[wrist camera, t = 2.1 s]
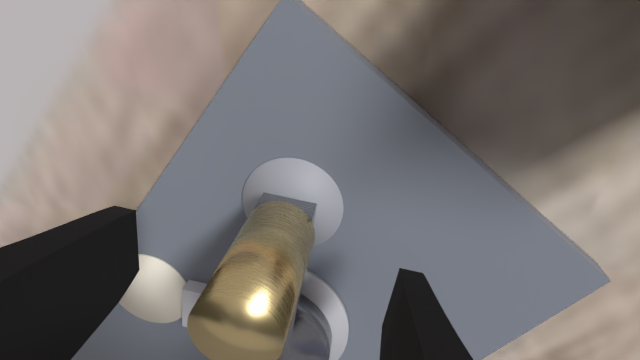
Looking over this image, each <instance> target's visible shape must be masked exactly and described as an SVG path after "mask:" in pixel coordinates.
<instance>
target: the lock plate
mask: <svg viewBox="0 0 640 360" xmlns="http://www.w3.org/2000/svg"><path fill="white" fill-rule="evenodd" d="M263 192H265V193H269V194H274V195H279V196H283V197H288V198H293V199H298V200H302V201H307V202H312V203H316V204H317V207H316V213H315V218H314V224H313V226H314V229H315V241H314V245H313V248H312V252H311V255H310V258H309V262H308V265H307V269H306V272H305V276H304V282H303V288H302V293H301V294H302V295H304V296H305V297H307V298H308V299H310V300H311V301H312V302H313V303H315V304H316V305H317V306H318V308H319V309H320V310H321V311H322V312H323V314H324V315H325V317H326V318H327V320H328V322H329V325H330V327H331V332H332V344H331V350H330V357H329V360H380V345H381V333H382V324H383V321H384V317H385V314H386V311H387V308H388V304H389V301H390V298H391V294H392V291H393V288H394V285H395V281H396V278H397V275H398V271H399V268H402V269H407V270H412V271H416V272H421V273H423V274H424V275H425V277H426V279H427V280H428V282H429V284H430V286H431V288H432V290H433V292H434V294H435V296H436V297H437V299H438V301H439V303H440V305H441V307H442V308H443V310H444V312H445V314H446V316H447V317H448V319H449V321H450V323H451V324H452V326H453V328H454V329H455V331H456V333H457V334H458V336H459V338H460V339H461V341H462V342H463V344H464V346H465V347H466V349H467V350H468V352H469V354H470V355H471V357H472V358H473V360H481V359H483V358H485V357H486V356H488V355H490V354H491V353H493V352H495V351H496V350H498V349H500V348H501V347H503V346H505V345H506V344H508V343H510V342H511V341H513V340H514V339H516V338H518V337H519V336H521V335H523V334H524V333H526V332H528V331H529V330H531V329H533V328H534V327H536V326H538V325H539V324H541V323H543V322H544V321H546V320H548V319H549V318H551V317H552V316H554V315H556V314H557V313H559V312H561V311H562V310H564V309H566V308H567V307H569V306H571V305H572V304H574V303H576V302H577V301H579V300H581V299H582V298H584V297H586V296H587V295H589V294H590V293H592V292H594V291H595V290H597V289H599V288H600V287H602V286H604V285H605V284H607V283H609V282H610V279H609V278H608V277H607V276H606V274H605V273H604V272H603V270H602V269H601V268H600V266H599V265H598V264H597V263H596V262H595V261H594V260H593V259H592V258H591V257H590V256H589V255H587V254H586V253H585V252H584V251H583V250H582V249H581V248H579V247H578V246H577V245H576V244H575V243H574V242H573V241H572V240H570V239H569V238H568V237H567V236H566V235H565V234H564V233H563V232H561V231H560V230H559V229H558V228H557V227H556V226H555V225H554V224H552V223H551V222H550V221H549V220H548V219H547V218H546V217H544V216H543V215H542V214H541V213H540V212H539V211H538V210H537V209H535V208H534V207H533V206H532V205H531V204H530V203H529V202H528V201H526V200H525V199H524V198H523V197H522V196H521V195H520V194H519V193H517V192H516V191H515V190H514V189H513V188H512V187H511V186H509V185H508V184H507V183H506V182H505V181H504V180H503V179H502V178H500V177H499V176H498V175H497V174H496V173H495V172H494V171H493V170H491V169H490V168H489V167H488V166H487V165H486V164H485V163H484V162H482V161H481V160H480V159H479V158H478V157H477V156H476V155H474V154H473V153H472V152H471V151H470V150H469V149H468V148H467V147H465V146H464V145H463V144H462V143H461V142H460V141H459V140H458V139H456V138H455V137H454V136H453V135H452V134H451V133H450V132H449V131H447V130H446V129H445V128H444V127H443V126H442V125H441V124H439V123H438V122H437V121H436V120H435V119H434V118H433V117H432V116H430V115H429V114H428V113H427V112H426V111H425V110H424V109H423V108H421V107H420V106H419V105H418V104H417V103H416V102H415V101H414V100H412V99H411V98H410V97H409V96H408V95H407V94H406V93H404V92H403V91H402V90H401V89H400V88H399V87H398V86H397V85H395V84H394V83H393V82H392V81H391V80H390V79H389V78H388V77H386V76H385V75H384V74H383V73H382V72H381V71H380V70H379V69H377V68H376V67H375V66H374V65H373V64H372V63H371V62H369V61H368V60H367V59H366V58H365V57H364V56H363V55H362V54H360V53H359V52H358V51H357V50H356V49H355V48H354V47H353V46H351V45H350V44H349V43H348V42H347V41H346V40H345V39H344V38H342V37H341V36H340V35H339V34H338V33H337V32H336V31H335V30H333V29H332V28H331V27H330V26H329V25H328V24H327V23H325V22H324V21H323V20H322V19H321V18H320V17H319V16H318V15H316V14H315V13H314V12H313V11H312V10H311V9H310V8H309V7H307V6H306V5H305V4H304V3H303V2H302V1H301V0H280V1H279V3H278V4H277V6H276V7H275V9H274V10H273V12H272V13H271V15H270V16H269V18H268V19H267V21H266V22H265V23H264V25H263V26H262V28H261V29H260V31H259V32H258V34H257V35H256V37H255V38H254V40H253V41H252V43H251V44H250V45H249V47H248V48H247V50H246V51H245V53H244V54H243V56H242V57H241V59H240V60H239V62H238V63H237V65H236V66H235V68H234V69H233V70H232V72H231V73H230V75H229V76H228V78H227V79H226V81H225V82H224V84H223V85H222V87H221V88H220V90H219V91H218V92H217V94H216V95H215V97H214V98H213V100H212V101H211V103H210V104H209V106H208V107H207V109H206V110H205V112H204V113H203V114H202V116H201V117H200V119H199V120H198V122H197V123H196V125H195V126H194V128H193V129H192V131H191V132H190V134H189V135H188V137H187V138H186V139H185V141H184V142H183V144H182V145H181V147H180V148H179V150H178V151H177V153H176V154H175V156H174V157H173V159H172V160H171V161H170V163H169V164H168V166H167V167H166V169H165V170H164V172H163V173H162V175H161V176H160V178H159V179H158V181H157V182H156V184H155V185H154V186H153V188H152V189H151V191H150V192H149V194H148V195H147V197H146V198H145V200H144V201H143V203H142V204H141V206H140V207H139V208H138V210H137V211H136V221H137V237H138V254H139V272H138V273H137V275H136V277H135V278H134V280H133V281H132V283H131V285H130V286H129V288H128V289H127V291H126V292H125V294H124V295H123V297H122V298H121V300H120V301H119V303H118V304H117V305H116V306H115V308H114V309H113V310H112V311H111V313H110V314H109V315H108V316H107V317H106V319H105V320H104V321H103V322H102V323H101V325H100V326H99V327H98V328H97V329H96V330H95V332H94V333H93V334H92V335H91V336H90V338H89V339H88V340H87V341H86V342H85V343H84V345H83V346H82V347H81V348H80V349H79V351H78V352H77V353H76V354H75V355H74V356H73V358H72V359H71V360H208V358H207V357H206V356H205V355H204V354H203V353H201V352H200V351H199V350H198V348H197V347H196V346H195V345H194V343H193V342H192V340H191V338H190V335H189V333H188V329H187V320H188V316H189V313H190V311H191V310H192V308H193V306H194V305H195V303H196V302H197V300H198V298H199V297H200V295H201V293H202V292H203V290H204V288H205V287H206V285H207V284H208V282H209V280H210V279H211V277H212V275H213V274H214V272H215V270H216V269H217V267H218V266H219V264H220V262H221V261H222V259H223V257H224V256H225V254H226V253H227V251H228V249H229V248H230V246H231V244H232V243H233V241H234V239H235V238H236V236H237V235H238V233H239V231H240V230H241V228H242V226H243V225H244V223H245V222H246V220H247V218H248V217H249V215H250V213H251V212H252V211H253V210H254V207H255V205H256V204H257V202H258V200H259V199H260V197H261V196H262V194H263Z"/></svg>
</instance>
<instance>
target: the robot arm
mask: <svg viewBox="0 0 640 360" xmlns="http://www.w3.org/2000/svg"><path fill="white" fill-rule="evenodd" d="M138 272H139V254H138V237H137V221H136V210H131V209H127V208H122V207H117V206H113V207H109V208H106V209H103V210H100V211H98V212H95V213H92V214H89V215H87V216H84V217H81V218H79V219H76V220H74V221H71V222H69V223H66V224H63V225H61V226H58V227H56V228H53V229H50V230H48V231H45V232H43V233H40V234H37V235H35V236H32V237H29V238H27V239H24V240H21V241H18V242H15V243H12V244H10V245H7V246H4V247H1V248H0V360H71V359H72V358H73V356H74V355H75V354H76V353H77V352H78V351H79V349H80V348H81V347H82V346H83V345H84V343H85V342H86V341H87V340H88V339H89V338H90V336H91V335H92V334H93V333H94V332H95V330H96V329H97V328H98V327H99V326H100V325H101V323H102V322H103V321H104V320H105V319H106V317H107V316H108V315H109V314H110V313H111V311H112V310H113V309H114V308H115V306H116V305H117V304H118V303H119V301H120V300H121V298H122V297H123V295H124V294H125V292H126V291H127V289H128V288H129V286H130V285H131V283H132V281H133V280H134V278H135V277H136V275H137V273H138ZM380 360H473V358H472V357H471V355H470V354H469V352H468V350H467V349H466V347H465V346H464V344H463V342H462V341H461V339H460V338H459V336H458V334H457V333H456V331H455V329H454V328H453V326H452V324H451V323H450V321H449V319H448V317H447V316H446V314H445V312H444V310H443V308H442V307H441V305H440V303H439V301H438V299H437V297H436V296H435V294H434V292H433V290H432V288H431V286H430V284H429V282H428V280H427V279H426V277H425V275H424V274H423V273H421V272H416V271H412V270H407V269H402V268H399V271H398V275H397V278H396V281H395V285H394V288H393V291H392V294H391V298H390V301H389V304H388V308H387V311H386V314H385V317H384V321H383V324H382V333H381V345H380Z"/></svg>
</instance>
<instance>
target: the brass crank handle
mask: <svg viewBox="0 0 640 360" xmlns="http://www.w3.org/2000/svg"><path fill="white" fill-rule="evenodd" d="M316 207H317V204H316V203H312V202H307V201H302V200H298V199H293V198H288V197H283V196H279V195H274V194H269V193H265V192H263V194H262V196H261V197H260V199H259V200H258V202H257V204H256V205H255V207H254V210H253V211H252V212H251V213H250V215H249V217H248V218H247V220H246V222H245V223H244V225H243V226H242V228H241V230H240V231H239V233H238V235H237V236H236V238H235V239H234V241H233V243H232V244H231V246H230V248H229V249H228V251H227V253H226V254H225V256H224V257H223V259H222V261H221V262H220V264H219V266H218V267H217V269H216V270H215V272H214V274H213V275H212V277H211V279H210V280H209V282H208V284H207V285H206V287H205V288H204V290H203V292H202V293H201V295H200V297H199V298H198V300H197V302H196V303H195V305H194V306H193V308H192V310H191V311H190V313H189V316H188V320H187V329H188V333H189V335H190V338H191V340H192V342H193V343H194V345H195V346H196V347H197V348H198V350H199V351H200V352H201V353H203V354H204V355H205V356H206V357H207V358H208V360H329V357H330V350H331V344H332V332H331V327H330V325H329V322H328V320H327V318H326V317H325V315H324V314H323V312H322V311H321V310H320V309H319V308H318V306H317V305H316V304H315V303H313V302H312V301H311V300H310V299H308V298H307V297H305V296H304V295H302V294H301V293H302V288H303V282H304V276H305V272H306V269H307V265H308V262H309V258H310V255H311V252H312V248H313V245H314V241H315V229H314V226H313V224H314V218H315V213H316Z"/></svg>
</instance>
